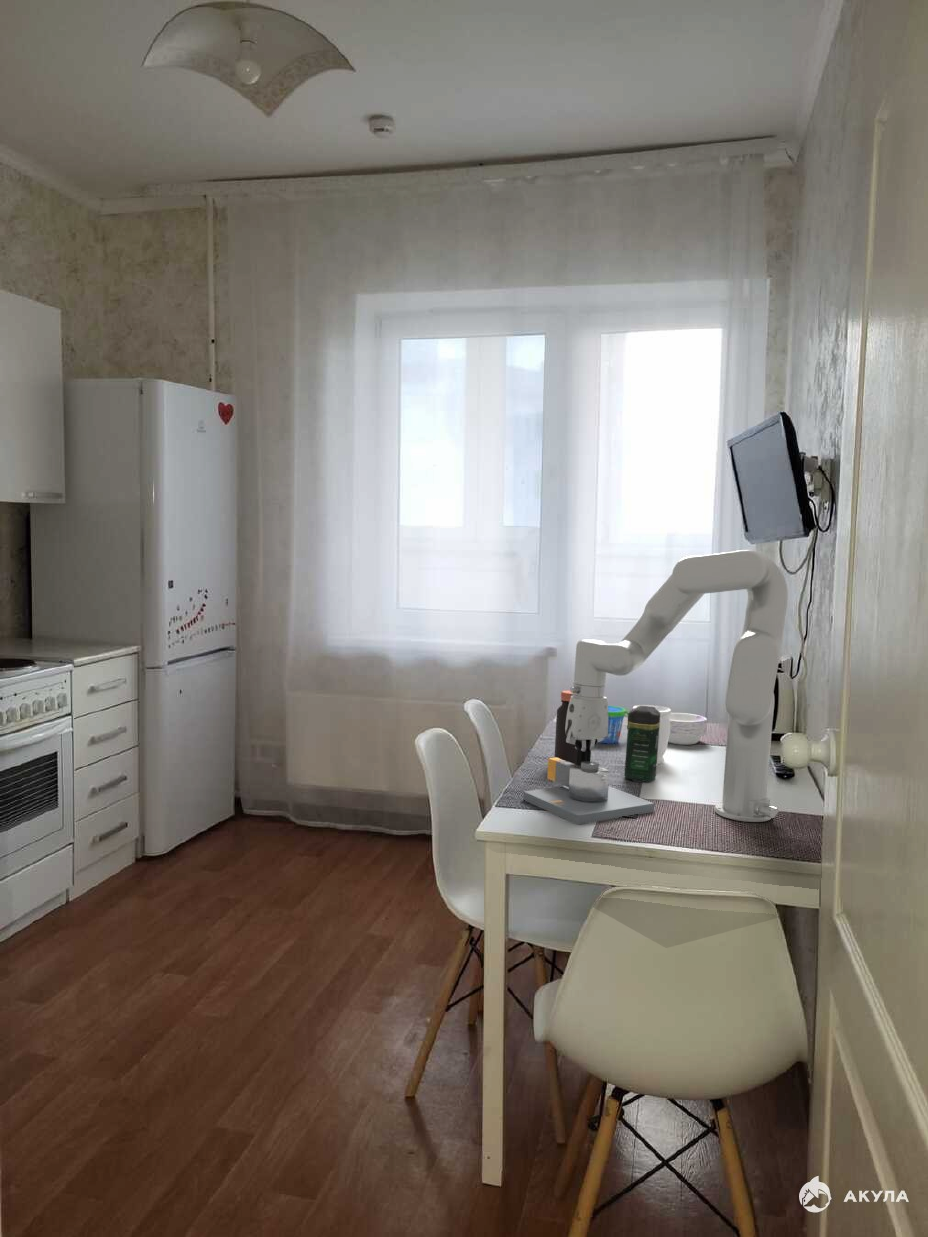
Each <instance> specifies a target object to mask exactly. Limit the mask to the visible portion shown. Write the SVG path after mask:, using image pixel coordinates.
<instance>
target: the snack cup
mask: <svg viewBox="0 0 928 1237" xmlns="http://www.w3.org/2000/svg"><path fill="white" fill-rule="evenodd" d="M629 712H630V711H627V710H626V709H625V708H623V707H621V706H617V705H616V706H615V705H608V734H607V736H606V737H605V738H604V739H603V741H600V742H599V743H600V744H606V743H607V744H611V745H612V744H617V743H618V742H619V741H620V737H621V732H622V727H623V722H624V717H625V716H626V715H627V718H628V717H629ZM626 729H627V730H628V724H626Z"/></svg>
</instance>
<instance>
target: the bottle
mask: <svg viewBox="0 0 928 1237" xmlns="http://www.w3.org/2000/svg"><path fill="white" fill-rule="evenodd" d="M571 696H573V693H571V691H570V690H562V691H561V693H560V702H561V705H560V706H559V707H558V708H557V709H556V717H555V718H556V720H555V721H556V723H555V724H556V725H555V739H554V756H553V758H555V757H557V758H559V759H562V760H565V761H567V762H570V763H573V764H576V762H577V749H576V748H575V746H574V744H570V743H567V742H566V739H567V735H566V733H565V726H566V717H567V710H568V705H569V701H570V698H571ZM574 739H575V737H574ZM580 742H581V741H580ZM576 765H577V764H576Z"/></svg>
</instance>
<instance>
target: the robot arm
mask: <svg viewBox="0 0 928 1237" xmlns="http://www.w3.org/2000/svg"><path fill="white" fill-rule="evenodd" d="M743 590H746V592H747V603H746V608H745V617H744V621H743V622H744V623H743V628H742V633H741V636H740V639H739V640H738V641H737V642H736V644H735V645H734V649H733V653H732V657H731V662H730V663H731V664H730V671H729V676H728V681H727V682H728V683H727V688H726V694H725V702H724V703H725V708H726V711H727V714H728V720H727V729H726V730H727V731H726V745H725V756H724V757H725V759H724V772H723V787H722V798H721V799H722V800H721V802H718V803H716V804H715V805H714V812H715V813H716V814H717V815H718V816H721V817H723V818H727V819H730V820H735V821H738V822H739V821H740V822H746V823H747V822H749V823H763V822H764V823H765V822H768V821H770V820H772V819H773V818H775V817H776V815H777V814H778V813H779V811H780V810H779V808H778V807H775V806H771V798H768V796H767V794H768V782H769V770H770V769H769V768H770V756H771V744H772V731H773V721H774V710H775V693H774V691H775V685H776V679H777V674H778V668H779V662H780V660H781V657H782V643H783V635H784V629H785V625H786V624H785V622H786V615H787V609H788V595H789V594H788V591H789V590H788V585H787V581H786V577H785V576H784V574H783V572H782V570H781V569H780V567H779V566H778V564H776V563H775V562H774V561H773V560H772V559H771V558H770V557H768V556H767V555H766V554H764V553H762V552H760V551H758V550H755V549H741V550H735V551H728V552H720V553H719V552H718V553H713V554H712V553H711V554H704V555H689V556H686V557H682V558H681V559H680V560H678V562H676V564H675V565H674V567H673V569H672V573H671V575H670V576H669V577H668V578H667V580H666V581H665V582H663V584H662V585H661V586H660V587H659V589H658V590H657V591H656V592H655V593H654V594H653V595H652V596H651V598H650V599H649V600H648V601H647V603H646V605H645V606H644V610H643V613H642V615H641V616H640V617H639V620H638V621H637V622H636V624H635V625H634V626H632V628H631V629H630V631H628V633H626V635H625V636H624V638H622V639H621V641H620V642H617V643H607V642H606V641H603V640H600V639H599V640H598V639H592V638H591V639H589V638H587V639H585V638H584V639H583V638H582V639H580V640H579V641H578V642H577V643H576V646H575V647H576V648H575V656H574V657H575V658H574V660H575V661H574V670H573V672H574V673H573V686H572V687H570V688H569V691H571V693H573V696H571V698H570V701H569V705H568V710H567V717H566V726H565V733H566V735H567V739H566V742H567V743H570V744H574V746H575V748H576V749H577V762H576V764H577V765H578V766H581V762H585V761H591V758H592V751H594V749H595V746H597V743H600V741H603V739H604V738H605V737H606V736H607V734H608V706H609V705H608V698H607V696H605V692H606V677H607V674H609V675H614V676H620V677H621V676H626V675H628V674H631V673H633V672H634V671H636V670H637V669H639V668H640V667H641V666H642V665H643V664H644V663H645V662H646V661H647V659H648V658H649V657H650V656H651V655H652V654H653V652H654V651H656V649H657V648H658V647H659V646H660V645H661V643H663V641H664V640H665V639H666V637H667V636H668V635H669V634H670V633H671V632H673V631H674V630H675V628H676V627H677V626H678V625H679V623H680V622H681V621H682V620H683V619H684V617H685V616H686V615H687V614H688V613H689V611H691V610H692V608H693V607H694V606H696V604H697V603H698V602H699V601H700V600H701V599H702V597H704V596H705V594H714V593H715V594H716V593H724V592H731V591H743ZM574 737H575V739H574ZM580 741H581V742H580ZM771 818H772V819H771Z"/></svg>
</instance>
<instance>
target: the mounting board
mask: <svg viewBox="0 0 928 1237" xmlns="http://www.w3.org/2000/svg"><path fill="white" fill-rule="evenodd" d="M522 796H523V797H522V798H523V799H522V800H523V801H524V800H525V802H527V803H529V804H531V805H534V806H535V807H538V808H540V809H541V810H545V811H547V812H549V813H551V814H553V815H556V816H558V817H560V818H562V819H564V820H566V821H569V822H571V823H573V824H575V825H577V826H578V825H583V824H584V825H585V824H589V822H590V823H596V822H601V821H608V820H613V819H614V818H615V819H619V817H621V818H623V817H622V816H627V817H629V816H628V815H633V814H639V815H644V814H649V813H654V812H655V803H654V802H651V801H650V800H649V801H648V800H646V799H645V798H641V797H639V796H636V795H634V794H630V793H628V792H626V791H623V790H620V789H617V788H615V787H613V786H610V785H609V791H608V799H607V800H605V801H600V802H587V801H580V800H576V799H573V798H571V797H570V796H569V787H567V786H564V785H561V786H555V787H554V786H553V787H549V788H547V787H545V788H539V789H532V790H525V791H523V795H522ZM633 816H634V815H633Z"/></svg>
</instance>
